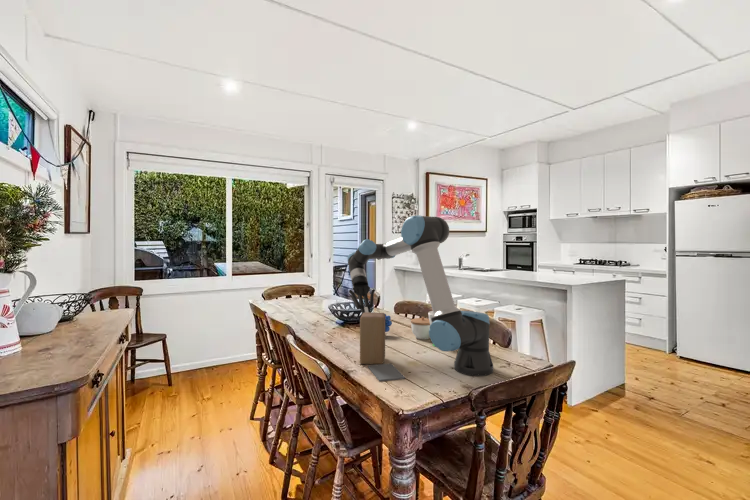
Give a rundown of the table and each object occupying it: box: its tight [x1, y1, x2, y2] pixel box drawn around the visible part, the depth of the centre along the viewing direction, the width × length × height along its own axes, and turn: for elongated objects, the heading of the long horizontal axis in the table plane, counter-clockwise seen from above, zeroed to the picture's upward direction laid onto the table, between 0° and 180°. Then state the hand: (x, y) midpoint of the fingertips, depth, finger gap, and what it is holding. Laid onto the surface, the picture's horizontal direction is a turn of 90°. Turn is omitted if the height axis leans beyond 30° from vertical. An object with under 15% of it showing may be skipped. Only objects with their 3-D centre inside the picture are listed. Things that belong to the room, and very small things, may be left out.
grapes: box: [385, 313, 393, 333], centre depth 200 cm, size 12×7×12 cm, turn 111°
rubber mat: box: [367, 363, 406, 382], centre depth 144 cm, size 16×10×1 cm, turn 16°
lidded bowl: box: [410, 316, 430, 340], centre depth 196 cm, size 13×13×11 cm
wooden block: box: [359, 311, 386, 365], centre depth 157 cm, size 10×10×20 cm
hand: (368, 320), depth 165 cm, fingers closed
